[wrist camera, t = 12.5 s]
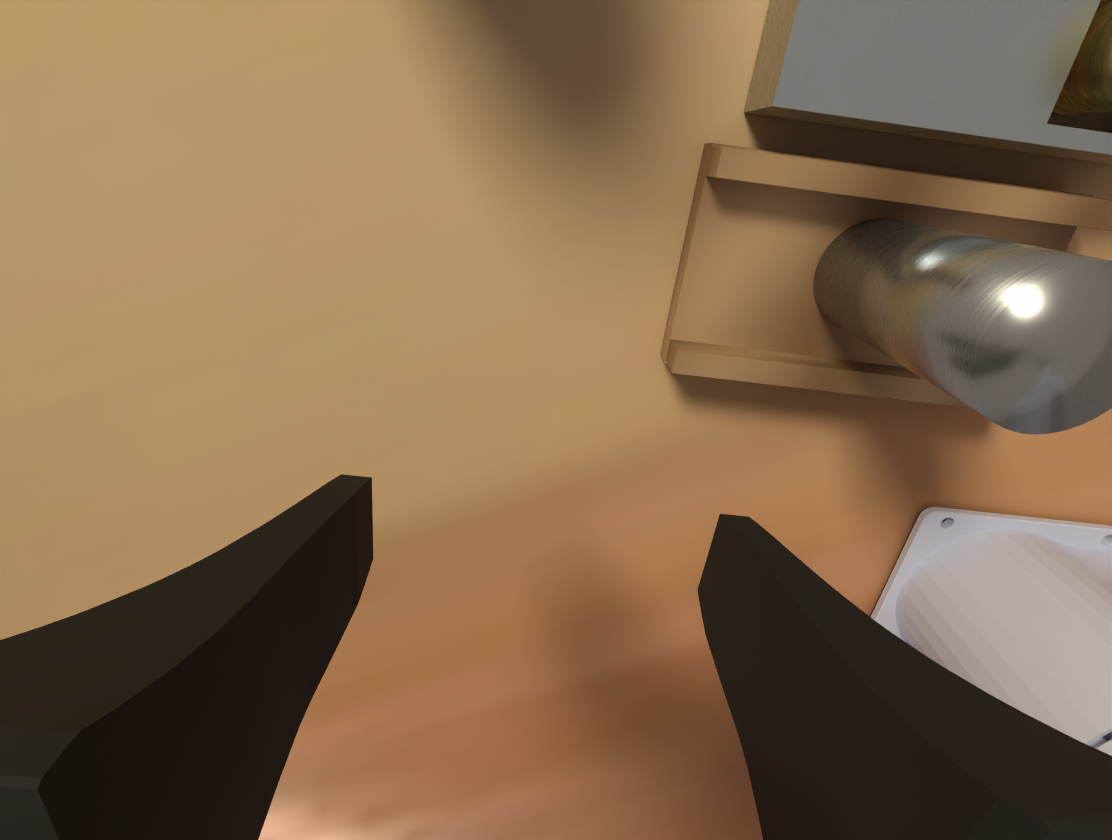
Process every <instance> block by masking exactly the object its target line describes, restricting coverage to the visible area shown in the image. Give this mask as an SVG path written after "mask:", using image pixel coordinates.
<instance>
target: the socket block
mask: <svg viewBox="0 0 1112 840" xmlns="http://www.w3.org/2000/svg"><path fill="white" fill-rule="evenodd" d="M1100 1H1101V0H770V3H769V8H768V12H767V16H766V21H765V25H764V29H763V34H762V38H761V42H760V46H759V51H758V55H757V59H756V64H755V68H754V72H753V76H752V81H751V85H750V89H749V94H748V98H747V102H746V106H745V111H744V112H746V113H753V114H760V115H767V116H774V117H781V118H788V119H795V120H802V121H809V122H816V123H823V124H830V125H837V126H844V127H851V128H859V129H866V130H873V131H880V132H887V133H894V134H901V135H908V136H915V137H922V138H929V139H936V140H943V141H950V142H957V143H964V144H971V145H978V146H985V147H992V148H999V149H1006V150H1013V151H1020V152H1027V153H1034V154H1041V155H1048V156H1055V157H1062V158H1069V159H1076V160H1084V161H1091V162H1098V163H1105V164H1112V131H1111V133H1107V132H1100V131H1093V130H1086V129H1079V128H1072V127H1066V126H1059V125H1052V124H1047V122H1048V120H1049V118H1050V115H1051V113H1052V111H1053V108H1054V106H1055V104H1056V101H1057V99H1058V97H1059V95H1060V92H1061V90H1062V88H1063V85H1064V83H1065V81H1066V79H1067V76H1068V74H1069V72H1070V69H1071V67H1072V65H1073V63H1074V60H1075V58H1076V56H1077V53H1078V51H1079V49H1080V47H1081V44H1082V42H1083V40H1084V37H1085V35H1086V33H1087V31H1088V28H1089V26H1090V24H1091V21H1092V19H1093V17H1094V15H1095V12H1096V10H1097V8H1098V5H1099V3H1100Z"/></svg>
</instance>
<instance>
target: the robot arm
mask: <svg viewBox="0 0 1112 840" xmlns="http://www.w3.org/2000/svg"><path fill="white" fill-rule="evenodd" d="M946 518H947V519H946ZM944 519H946V520H945V521H944V522H942V521H943V520H944ZM372 561H373V523H372V478H371V477H361V476H351V475H342V474H341V475H340V476H338V477H336V478H335V479H333V480H331V481H330V482H328V483H327V484H325V485H324V486H322V487H321V488H319V489H318V490H316V491H315V492H313V493H312V494H310V495H309V496H307V497H306V498H304V499H303V500H301V501H300V502H298V503H297V504H295V505H294V506H292V507H290V508H289V509H287V510H286V511H284V512H283V513H281V514H280V515H278V516H276V517H275V518H273V519H272V520H270V521H269V522H267V523H265V524H264V525H262V526H260V527H259V528H257V529H255V530H254V531H252V532H250V533H248V534H247V535H245V536H243V537H242V538H240V539H238V540H236V541H235V542H233V543H231V544H230V545H228V546H226V547H224V548H223V549H221V550H219V551H217V552H216V553H214V554H212V555H210V556H208V557H206V558H204V559H202V560H200V561H198V562H196V563H194V564H193V565H191V566H188V567H186V568H184V569H182V570H180V571H178V572H176V573H174V574H172V575H170V576H168V577H165V578H163V579H161V580H159V581H157V582H155V583H152V584H150V585H148V586H146V587H143V588H141V589H138V590H136V591H133V592H131V593H128V594H126V595H123V596H121V597H119V598H116V599H114V600H111V601H109V602H106V603H104V604H101V605H99V606H97V607H94V608H92V609H89V610H87V611H84V612H81V613H79V614H76V615H73V616H70V617H68V618H65V619H62V620H59V621H56V622H54V623H51V624H48V625H45V626H42V627H39V628H36V629H33V630H30V631H27V632H24V633H21V634H18V635H15V636H12V637H9V638H6V639H3V640H0V840H258V838H259V836H260V833H261V830H262V827H263V824H264V821H265V819H266V816H267V813H268V810H269V807H270V805H271V802H272V799H273V796H274V793H275V790H276V788H277V785H278V782H279V779H280V777H281V774H282V771H283V769H284V766H285V763H286V761H287V758H288V755H289V753H290V750H291V747H292V745H293V742H294V739H295V736H296V734H297V731H298V729H299V726H300V724H301V721H302V719H303V717H304V715H305V712H306V710H307V708H308V706H309V703H310V701H311V699H312V697H313V695H314V693H315V691H316V689H317V687H318V685H319V683H320V681H321V679H322V677H323V675H324V673H325V671H326V669H327V666H328V664H329V662H330V660H331V658H332V656H333V654H334V652H335V650H336V648H337V646H338V644H339V642H340V640H341V638H342V636H343V634H344V632H345V630H346V628H347V626H348V623H349V621H350V619H351V617H352V615H353V613H354V611H355V609H356V607H357V605H358V602H359V600H360V597H361V594H362V591H363V588H364V585H365V582H366V579H367V576H368V573H369V570H370V567H371V564H372ZM698 595H699V601H700V607H701V613H702V618H703V623H704V628H705V633H706V637H707V640H708V644H709V647H710V650H711V653H712V656H713V659H714V662H715V665H716V669H717V672H718V675H719V678H720V681H721V684H722V687H723V690H724V693H725V696H726V699H727V702H728V705H729V708H730V711H731V714H732V717H733V720H734V723H735V726H736V729H737V732H738V735H739V738H740V742H741V745H742V749H743V752H744V756H745V759H746V763H747V767H748V771H749V776H750V780H751V785H752V789H753V794H754V798H755V802H756V807H757V811H758V816H759V821H760V826H761V831H762V836H763V840H1112V526H1110V525H1101V524H1091V523H1082V522H1073V521H1063V520H1054V519H1045V518H1035V517H1026V516H1017V515H1007V514H998V513H988V512H979V511H970V510H960V509H951V508H942V507H930V508H927V509H925V510H923V511H922V512H921V513H920V515H919V517H918V519H917V521H916V523H915V525H914V527H913V529H912V531H911V533H910V535H909V538H908V540H907V542H906V544H905V546H904V548H903V550H902V552H901V554H900V556H899V558H898V561H897V563H896V565H895V567H894V569H893V571H892V573H891V575H890V577H889V579H888V582H887V584H886V586H885V588H884V590H883V592H882V594H881V596H880V598H879V600H878V603H877V605H876V607H875V609H874V611H873V613H872V615H871V617H869V616H868V615H867V614H866V613H864V612H863V611H862V610H860V609H859V608H858V607H856V606H855V605H854V604H853V603H851V602H850V601H849V600H847V599H846V598H845V597H844V596H842V595H841V594H840V593H839V592H837V591H836V590H835V589H834V588H832V587H831V586H830V585H829V584H828V583H826V582H825V581H824V580H823V579H822V578H820V577H819V576H818V575H817V574H816V573H815V572H813V571H812V570H811V569H810V568H809V567H807V566H806V565H805V564H804V563H803V562H802V561H801V560H799V559H798V558H797V557H796V556H795V555H794V554H793V553H791V552H790V551H789V550H788V549H787V548H786V547H785V546H783V545H782V544H781V543H780V542H779V541H778V540H777V539H775V538H774V537H773V536H772V535H771V534H770V533H768V532H767V531H766V530H765V529H764V528H762V527H761V526H760V525H759V524H758V523H756V522H755V521H754V520H752V519H751V518H750V517H745V516H736V515H726V514H720V516H719V519H718V523H717V526H716V529H715V533H714V536H713V539H712V543H711V546H710V550H709V553H708V556H707V560H706V563H705V567H704V570H703V573H702V577H701V580H700V583H699V587H698Z"/></svg>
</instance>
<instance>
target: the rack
mask: <svg viewBox="0 0 1112 840" xmlns="http://www.w3.org/2000/svg"><path fill="white" fill-rule="evenodd" d="M1091 197H1092V196H1089V195H1082V194H1075V193H1068V192H1060V191H1053V190H1046V189H1039V188H1032V187H1024V186H1017V185H1010V184H1003V183H996V182H988V181H981V180H974V179H967V178H960V177H952V176H945V175H938V174H931V173H924V172H916V171H909V170H902V169H895V168H888V167H880V166H873V165H866V164H859V163H852V162H844V161H837V160H830V159H823V158H816V157H808V156H801V155H794V154H787V153H780V152H772V151H765V150H758V149H751V148H744V147H736V146H729V145H722V144H715V143H708V144H705V145H704V150H703V154H702V159H701V164H700V169H699V173H698V178H697V183H696V188H695V192H694V197H693V202H692V206H691V211H690V216H689V221H688V225H687V230H686V235H685V240H684V244H683V249H682V254H681V259H680V263H679V268H678V273H677V277H676V282H675V287H674V292H673V296H672V301H671V306H670V311H669V315H668V320H667V325H666V329H665V334H664V339H663V344H662V348H661V353H660V355H661V357H662V359H663V361H664V363H665V364H667V365H668V367H669V369H670V370H671V372H672V373H675V374H684V375H692V376H701V377H709V378H718V379H727V380H735V381H744V382H752V383H761V384H769V385H778V386H787V387H795V388H804V389H812V390H821V391H829V392H838V393H846V394H855V395H864V396H872V397H881V398H889V399H898V400H906V401H915V402H924V403H932V404H941V405H949V406H958V407H966V408H970V407H968V406H967V405H965V404H964V403H962V402H960V401H959V400H957V399H955V398H954V397H952V396H951V395H949V394H947V393H946V392H944V391H942V390H941V389H939V388H938V387H936V386H934V385H933V384H931V383H929V382H928V381H926V380H925V379H923V378H921V377H920V376H918V375H916V374H915V373H913V372H912V371H910V370H908V369H907V368H905V367H903V366H902V365H900V364H899V363H897V362H895V361H894V360H892V359H890V358H889V357H887V356H885V355H884V354H882V353H881V352H879V351H877V350H876V349H874V348H872V347H871V346H869V345H868V344H866V343H864V342H863V341H861V340H859V339H858V338H856V337H855V336H853V335H851V334H850V333H848V332H846V331H845V330H843V329H842V328H840V327H838V326H837V325H835V324H833V323H832V322H830V321H829V320H828V319H827V318H826V317H825V316H824V315H823V314H822V313H821V311H820V310H819V308H818V306H817V304H816V301H815V298H814V292H813V280H814V274H815V270H816V267H817V265H818V262H819V260H820V258H821V256H822V254H823V253H824V251H825V250H826V248H827V247H828V246H829V245H830V243H831V242H832V241H833V240H834V239H835V238H836V237H837V236H838V235H840V234H841V233H842V232H843V231H845V230H846V229H848V228H850V227H851V226H853V225H855V224H857V223H860V222H862V221H865V220H869V219H874V218H890V219H896V220H901V221H906V222H911V223H916V224H922V225H927V226H932V227H937V228H943V229H948V230H953V231H958V232H963V233H969V234H974V235H979V236H984V237H990V238H995V239H1000V240H1005V241H1010V242H1016V243H1021V244H1026V245H1031V246H1036V247H1042V248H1047V249H1052V250H1057V251H1063V252H1065V250H1066V248H1067V246H1068V244H1069V242H1070V240H1071V238H1072V236H1073V234H1074V232H1075V230H1076V228H1077V226H1078V227H1085V228H1093V229H1100V230H1108V231H1111V230H1112V200H1105V199H1098V198H1091Z"/></svg>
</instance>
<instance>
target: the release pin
mask: <svg viewBox="0 0 1112 840" xmlns="http://www.w3.org/2000/svg"><path fill="white" fill-rule="evenodd" d="M1108 111H1112V0H1105V1H1101V2H1100V3H1099V5H1098V8H1097V10H1096V12H1095V15H1094V17H1093V19H1092V21H1091V24H1090V26H1089V28H1088V31H1087V33H1086V35H1085V37H1084V40H1083V42H1082V44H1081V47H1080V49H1079V51H1078V53H1077V56H1076V58H1075V60H1074V63H1073V65H1072V67H1071V69H1070V72H1069V74H1068V76H1067V79H1066V81H1065V83H1064V85H1063V88H1062V90H1061V92H1060V95H1059V97H1058V99H1057V101H1056V104H1055V106H1054V108H1053V112H1055V113H1059V114H1067V115H1068V114H1081V113H1094V112H1108Z"/></svg>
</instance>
